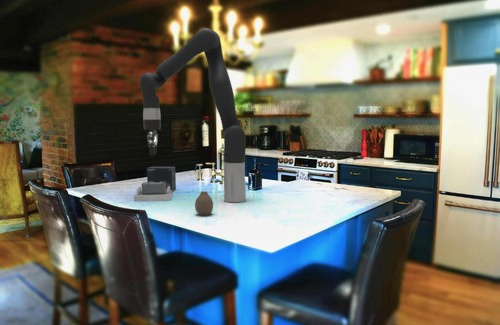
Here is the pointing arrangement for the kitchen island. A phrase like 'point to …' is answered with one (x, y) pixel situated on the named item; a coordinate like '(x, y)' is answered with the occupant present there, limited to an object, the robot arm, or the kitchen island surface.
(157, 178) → the small box
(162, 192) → the block
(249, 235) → the kitchen island surface
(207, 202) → the vase
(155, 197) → the tray
